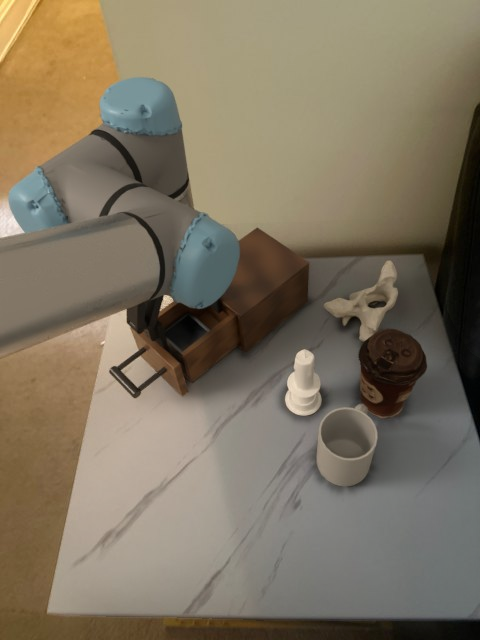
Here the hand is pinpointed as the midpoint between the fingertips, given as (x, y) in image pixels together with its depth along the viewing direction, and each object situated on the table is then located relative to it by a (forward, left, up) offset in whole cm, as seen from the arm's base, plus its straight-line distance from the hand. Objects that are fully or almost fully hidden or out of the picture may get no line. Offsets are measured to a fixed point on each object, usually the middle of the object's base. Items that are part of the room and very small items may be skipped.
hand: (188, 326), depth 84 cm
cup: (+4, -28, -7) cm, 29 cm away
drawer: (-3, 0, -6) cm, 7 cm away
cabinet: (+13, 0, -7) cm, 15 cm away
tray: (0, 0, -5) cm, 5 cm away
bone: (+24, -14, -7) cm, 29 cm away
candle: (+6, -18, -7) cm, 20 cm away
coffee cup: (+14, -26, -7) cm, 30 cm away
